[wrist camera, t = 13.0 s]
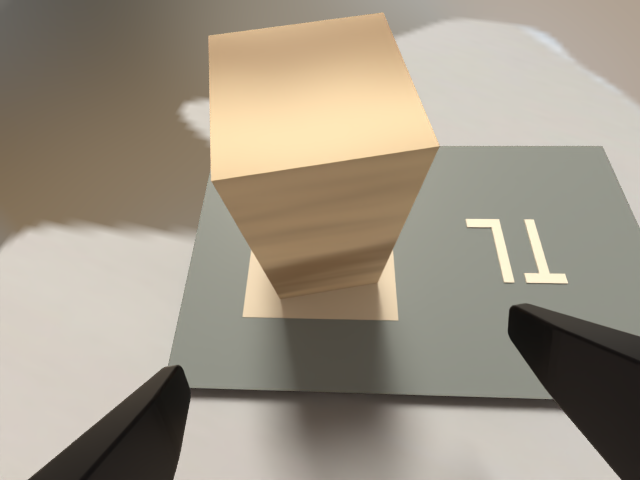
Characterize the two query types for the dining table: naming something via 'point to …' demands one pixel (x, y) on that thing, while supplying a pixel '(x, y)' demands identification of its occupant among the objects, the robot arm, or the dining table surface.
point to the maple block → (317, 148)
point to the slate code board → (425, 284)
